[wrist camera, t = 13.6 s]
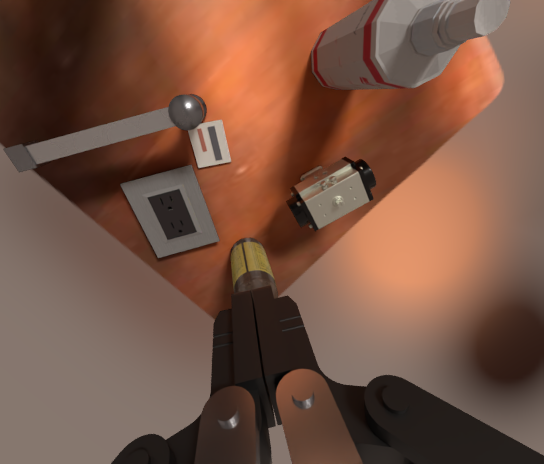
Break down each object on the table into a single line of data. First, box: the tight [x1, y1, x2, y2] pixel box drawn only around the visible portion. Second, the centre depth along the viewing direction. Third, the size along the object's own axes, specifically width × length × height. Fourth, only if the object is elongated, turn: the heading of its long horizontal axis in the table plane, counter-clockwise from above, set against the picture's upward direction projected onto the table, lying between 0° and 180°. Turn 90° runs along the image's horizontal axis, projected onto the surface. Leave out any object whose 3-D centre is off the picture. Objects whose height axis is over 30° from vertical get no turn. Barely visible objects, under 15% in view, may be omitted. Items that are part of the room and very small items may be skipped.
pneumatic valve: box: [286, 157, 376, 231], centre depth 40 cm, size 6×12×12 cm, turn 119°
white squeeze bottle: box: [311, 0, 510, 90], centre depth 27 cm, size 8×8×25 cm
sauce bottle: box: [231, 238, 278, 300], centre depth 41 cm, size 6×6×20 cm
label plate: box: [188, 120, 231, 168], centre depth 40 cm, size 6×5×1 cm
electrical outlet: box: [120, 165, 220, 258], centre depth 44 cm, size 13×10×2 cm
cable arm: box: [4, 95, 204, 172], centre depth 31 cm, size 21×4×3 cm, turn 104°
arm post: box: [190, 94, 207, 119], centre depth 36 cm, size 4×4×6 cm
